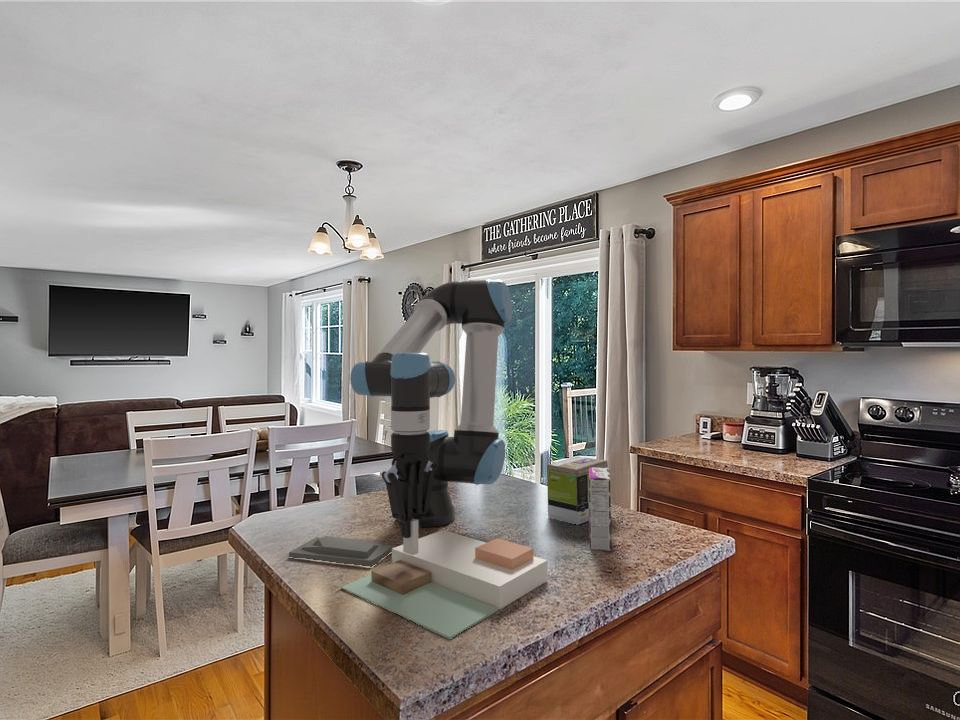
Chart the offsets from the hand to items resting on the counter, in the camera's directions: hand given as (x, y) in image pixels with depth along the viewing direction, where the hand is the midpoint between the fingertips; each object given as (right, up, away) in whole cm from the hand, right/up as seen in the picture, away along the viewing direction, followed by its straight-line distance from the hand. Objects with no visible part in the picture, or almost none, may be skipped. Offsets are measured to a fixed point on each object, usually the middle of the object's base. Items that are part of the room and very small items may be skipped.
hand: (410, 552), depth 104 cm
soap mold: (-17, -6, +13) cm, 22 cm away
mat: (+2, -5, -8) cm, 10 cm away
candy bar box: (+41, -5, +20) cm, 46 cm away
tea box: (+40, -5, +41) cm, 57 cm away
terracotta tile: (+18, -1, 0) cm, 18 cm away
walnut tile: (-2, -5, -2) cm, 6 cm away
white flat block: (+11, -5, +2) cm, 12 cm away
